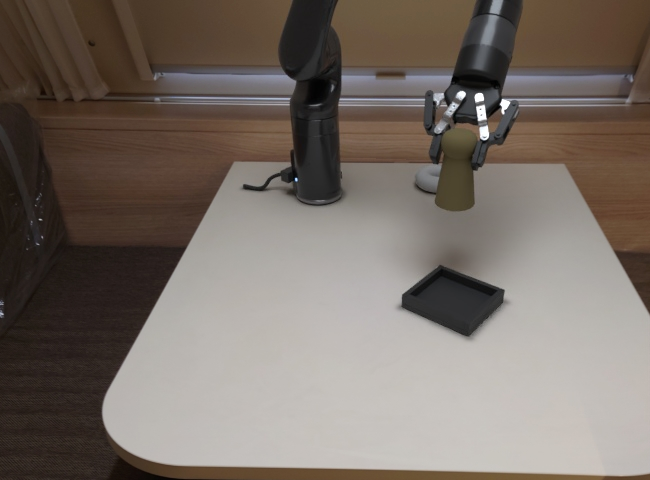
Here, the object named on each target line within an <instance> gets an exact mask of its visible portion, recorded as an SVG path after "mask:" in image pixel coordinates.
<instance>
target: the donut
mask: <svg viewBox="0 0 650 480" xmlns="http://www.w3.org/2000/svg"><path fill="white" fill-rule="evenodd" d="M441 166H442V163H439V164H438V165H437V164H428V165H424V166H422V167H421V168H419V169H418V170H417V172H416V173H415V176H414V179H415V184H416V185H417V186H418V187H419V188H420V189H421V190H423V191H424V192H425V191H426V192H429V193H435V194H436V191H437V186H438V181H439V176H440V171H441Z"/></svg>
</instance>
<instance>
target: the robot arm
mask: <svg viewBox="0 0 650 480" xmlns="http://www.w3.org/2000/svg"><path fill="white" fill-rule="evenodd" d="M338 2H339V0H292V1H291V4H290V7H289V10H288V12H287V16H286V19H285V22H284V25H283V27H282V31H281V33H280V37H279V41H278V46H277V56H278V61H279V65H280V66H281V70H282V71H283V72H284V74H285V76H287V77H288V78H289V79H291V80H292V81H295V86H294V90H293V92H292V94H291V96H290V98H289V115H290V126H291V138H292V147H293V148H292V149H290V151H289V156H290V164H291V165H290V166H288V167H286V168H283V169H282V170H280V171H279V172H276V173H274V174H272V175H270V176H269V177H268V178H267V179H266V180H265V182H264V183H263V185H261V186H259V185H258V186H255V185H251V184H247V183H243V184H242V188H243V189H249V190H252V191H262V190H266V188H267V187H268V186H269V185H270V183H271V182H272V181H273V180H275V179H276V178H279V177H280V181H281V182H284V183H286V184H290V183H292V189H293V195H295V196H296V198H297V200H299V201H300V202H302V203H304V204H309V205H326V204H331V203H334V202H336V201H338V200H339V199H341V197H342V196H343V189H342V179H343V171H342V165H341V164H342V163H341V140H340V139H341V138H340V136H341V135H340V114H339V111H340V110H339V104H340V100H341V96H342V84H343V83H342V82H343V81H342V80H343V79H342V75H343V74H342V73H343V72H342V71H343V70H342V69H343V64H342V63H343V62H342V61H343V59H342V46H341V42H340V37H339V34H338V33H337V31H336V29H335V28H334V27H333V26H332V21H333V18H334V13H335V11H336V8H337V6H338ZM523 8H524V0H475V3H474V5H473V9H472V12H471V17H470V20H469V23H468V26H467V29H466V30H465V32H464V35H463V39H462V41H461V45H460V47H459V52H458V54H457V57H456V62H455V65H454V69H453V72H452V76H451V79H450V82H449V83H450V84H449V86H448V87H447V88H446V89H445V91H444V92H435V93H434V91H433V90H432V89H428V90H427V91H425V94H424V96H425V97H424V108H423V109H424V110H423V123H422V125H423V127H424V130H425V133H426V135H427V136H429V137H431V136H432V139H431V142H430V146H429V149H428V157H429V159H430V161H431V162H432V165H434V164H437V165H438V164H440V161H441V157H442V154H443V151H442V148H441V139H442V136H443V135H444V133H445V132H446V131H448V130H450V129H455V128H457V125H458V124H461V125H462V124H470V125H472V126H478V130H479V131H478V132H479V140H478V141H477V144H476V148H475V151H474V154H473V158H472V162H471V168H472V170H473V172H478V171H479V168H483V166H484V165H485V162H486V158H487V154H488V150H489V148H490V147H491V146H495V145H497V146H502V145H504V143H505V141H506V139H507V137H508V136H509V134H510V132H511V130H512V128H513V126H514V124H515V122H516V121H517V118H518V117H519V114H520V104H519V101H518V100H517V99H513V100H511V101H509V100H506V99H503V95H502V93H503V90H504V86H505V83H506V79H507V75H508V72H509V69H510V64H511V62H512V60H513V54H514V50H515V44H516V36H517V33H518V28H519V24H520V21H521V18H522V14H523ZM444 102H445V104H446V106H447V108H446V110H445V111H444V112H443V114H442V115H441V119H440V120H439V122H438V123H437V124H436V117H437V116H436V115H437V110H439V109H440V108H441V105H442V104H443V103H444ZM500 109H501V119H500V121H499V123H498V125H497V126H496V128H495V130H494V131H493V132H490V127H489V122H488V119H490V118H491V117H492V116H493V115H495V113H496V112H498V111H499V110H500Z"/></svg>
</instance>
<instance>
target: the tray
mask: <svg viewBox="0 0 650 480" xmlns="http://www.w3.org/2000/svg"><path fill="white" fill-rule="evenodd" d="M505 293H506V289H504V288H502V287H498V286H496V285H495V284H494V285H493V284H491V283H489V282H487V281H483V280H481V279H478V278H475V277H473V276H470V275H467V274H465V273H462V272H460V271H457V270H454V269H452V268H449V267H448V266H445V265H442V264H439V265H438V266H436V267H435V268H434V269H433V270H431V271H430V272H429V273H428V274H426V275H425V276H424V277H423V278H421V279H420V280H419V281H417V282H416V283H415V284H414V285H412V286H411V287H410V288H408V289H407V290H406V291H405V292H403V293H402V294H401V308H403V309H405V310H408V311H410V312H412V313H414V314H417V315H419V316H421V317H423V318H426V319H428V320H430V321H433V322H435V323H437V324H439V325H442V326H444V327H446V328H448V329H450V330H452V331H455V332H457V333H459V334H461V335H464V336H466V337H469V336H470V335H472V334H473V332H475V330H476V329H477V328H478V327H480V326H481V324H483V323H484V321H485V320H486V319H487V318H489V316H491V315H492V314H493V312H495V311H496V309H498V307H499V306H501V305H502V304H503V302H504V299H505Z"/></svg>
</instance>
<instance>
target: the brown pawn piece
mask: <svg viewBox="0 0 650 480" xmlns="http://www.w3.org/2000/svg"><path fill="white" fill-rule="evenodd" d="M477 141H479V140H478V136H477V134H476V133H475V132H474V131H473V130H470V129H467V128H463V127H455V128H454V129H450V130H448V131H446V132H445V133H444V135H443V136H442V139H441V148H442V154H443V156H442V162H441V165H442V166H441V171H440V176H439V181H438V186H437V191H436V193H435V196H434V201H433V202H434V205H435V206H436V207H437V208H439V209H442V210H444V211H447V212H466V211H468V210H471V209H472V208H474V206H475V204H476V202H475V201H476V199H475V197H476V196H475V177H474V175H475V174H474V173H475V172H474V170H472V168H471V162H472V158H473V155H474V151H475V148H476V144H477Z"/></svg>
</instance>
